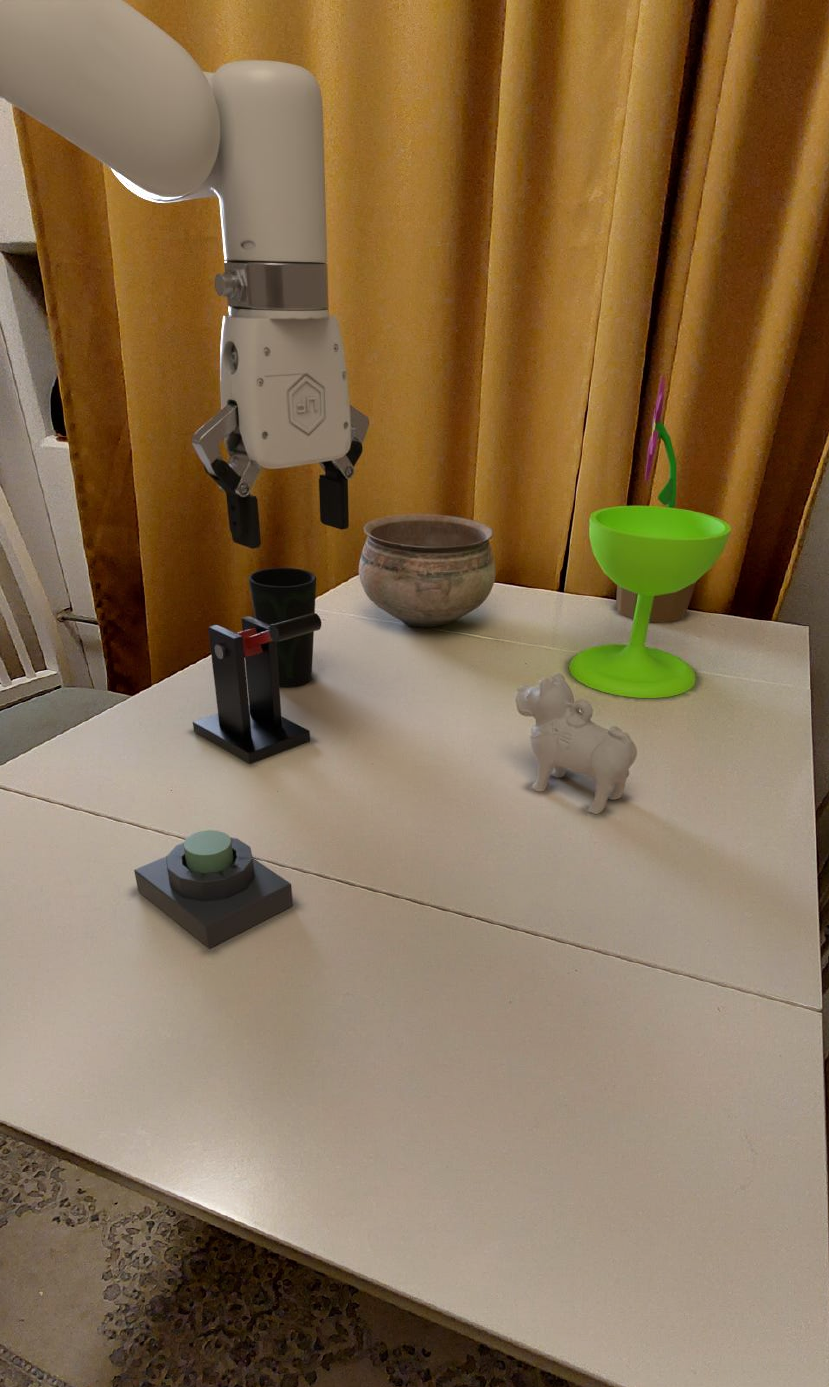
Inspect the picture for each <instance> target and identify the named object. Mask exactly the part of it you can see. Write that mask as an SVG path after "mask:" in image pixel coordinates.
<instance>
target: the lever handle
mask: <svg viewBox="0 0 829 1387" xmlns="http://www.w3.org/2000/svg"><path fill="white" fill-rule="evenodd" d="M320 629H322V619H321V617H320V616H319V614H318V613H316V612H315V613H312V614H309V615H305V616H301V617H298V618H294V619H290V620H287V621H283V622H279V623H276V624H272V625H270V627H269V630H268V631H265V632H262V633H259V634H257V632H256V629H255V628H253V629H249V630H246V631H239V632H235V633H236V634H238V635H240V636H242V637H243V647H244V658H245V657H249V656H252V655H255V654H258V653H262V652H263V650H262V647H261V645H262V644H265V643H268V642H271V641H274V642H279V641H282V640H286V639H289V638H293V637H296V636H300V635H303V634H307V633H310V632H313V631H314V632H317V631H319V630H320Z"/></svg>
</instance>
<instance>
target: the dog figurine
mask: <svg viewBox="0 0 829 1387" xmlns="http://www.w3.org/2000/svg"><path fill="white" fill-rule="evenodd" d="M550 677H551V680H550V678H548V677H542V678H540V680H538V685H535V686H529V685H526V684H525V685H520V686H518V688H517V689H516V694H515V705H516V710H517V712H518V713H519V715H521V716H523V717H530V718H531V717H532V718H534V719H535V723H534V724H535V725H533V726H532V727H531V731H530V735H529V737H530V745H531V749H532V751H533V754H534V756H535V758H536V761H537V776H536V780H535V782H534V783H533V784H532V785H531V789H532V790H533V791H535V792H544V791H545V790H546V789H547V787H548V785H550V784H549V779H550V777H551V776H553V777H555V778H557V779H559V778H563V777H564V776H565V775H566V770H567V769H568V770H571V771H574V772H576V773H580V774H583V775H586V776H588V777H590V778H591V779H593V780H595V793H594V798H593V802H592V803H591V805H590V806H589V808H588V812H589V813H591V814H595V815H599V814H601V813H602V812H603V811H604V809H605V808H606V805H607V802H608V800H613V801H614V800H619V799H621V798H622V796H623V792H624V789H625V785H626V781H627V779H628V778H629V776H630V768H631V767H632V765H633V764H634V763H635V761H636V759H637V755H638V749H637V746H636V744H635V743H634V741H633V740H632V737H631V736H630V734H628V733H627V732H624V731H623V730H622V729H621V728H620V727H618V726H616V725H613V726H611V727H610V728H606V727H602V726H601V725H599V724H597V723H596V722H593V721H592V720H591V719H592V718H593V712H594V709H593V706H592V704H591V703H590V702H589V701H588V700H585V699H577V700H575V697H574V693H573V690H572V689H571V686H570V685H569V684H568V683H567V681H566V679H565V676H564V675H563V674H562V673H560V672H556V673H553V674H551V676H550Z"/></svg>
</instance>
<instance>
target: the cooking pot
mask: <svg viewBox="0 0 829 1387" xmlns="http://www.w3.org/2000/svg"><path fill="white" fill-rule="evenodd" d="M363 530H364V533H365V534H366V535H367V537H366V540H365V542H364V544H363V548H362V551H361V554H360V560H359V565H358V578H359V582H360V584H361V586H362V589H363V591H364V593H365V595H366V596H367V598H368V599H369V600H370V601H371V602H372V603H373V604H374V605H375V606H376V607H377V608H379V609H381V610H382V611H384V612H385V613H387V614H389V615H390V616H392V617H394V618H396V619H397V620H399V621H401V622H402V623H403V624H405V625H407V626H409V627H413V628H418V629H438V628H442V627H445V626H447V625H448V624H449V623H452V622H454V621H456V620H458V619H460V618H462V617H464V616H466V615H468V614H469V613H471V612H473V611H475V610H476V609H477V608H478V607H480V606H481V605H482V604H483V603H484V602H485V601H486V600H487V598H488V597H489V595H490V594H491V591H492V589H493V587H494V584H495V581H496V575H497V574H496V573H497V571H496V570H497V569H496V564H495V563H496V562H495V557H494V553H493V550H492V546H491V544H490V543H491V542H490V540H491V539H492V538H493V536H494V530H493V529H492V528H491V526H489V525H487V524H485V523H483V522H481V521H478V520H475V519H470V518H466V517H461V516H454V515H447V514H435V513H433V514H432V513H408V514H405V513H404V514H396V515H389V516H382V517H379V518H376V519H375V518H374V519H372V520H371V521H368V522H367V523H366V524H365V525H364V526H363Z"/></svg>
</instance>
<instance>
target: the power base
mask: <svg viewBox="0 0 829 1387" xmlns="http://www.w3.org/2000/svg"><path fill="white" fill-rule="evenodd" d="M229 837H230V838H231V842H232V851H233V863H232V865H231V866H230V867H228V868H226V869H224V870H221V871H218V872H210V873H200V872H194V871H192V870H190V869H189V868H188V867H187V864H186V858H185V851H184V842H181V843H179V844H176V845H175V846H174V847H173V849H172V850H171V851H170V852H169V853H168V854H167V855H166V856H163V857H161V858H158V859H157V860H154V861H152V862H150V863H146V864H145V865H142V866H140V867H138V868H135V869H134V871H133V872H134V877H135V882H136V886H137V892H138V893H139V894H141V896H143V897H144V898H145V899H146V900H148V901H149V902H150V903H151V904H153V905H154V906H155V907H157V908H158V909H159V910H160V911H162V912H163V913H164V914H165V915H167V916H168V917H169V918H170V919H171V920H173V921H174V922H175V923H176V924H178V925H179V926H180V927H182V928H183V929H184V930H185V931H187V932H188V933H189V934H190V935H192V936H193V937H194V938H195V939H196V940H198V941H199V942H201V944H203V945H204V946H205V947H207V949H212V948H214V947H215V946H217V945H219V944H221V943H223V942H225V941H227V940H229V939H231V938H233V937H235V936H237V935H239V934H241V933H243V932H245V931H247V930H249V929H251V928H252V927H255V926H256V925H259V924H261V923H262V922H264V921H266V920H268V919H271V918H272V917H274V916H275V915H277V914H280V913H282V912H284V911H285V910H287V909H289V908H291V907H293V906H294V904H293V902H294V901H293V890H292V888H293V886H292V883H291V882H289V881H288V880H286V879H285V878H284V877H282V876H280V875H279V874H277V873H276V872H275V871H273V870H271V869H270V868H269V867H267V866H266V865H265V864H263V863H261V862H259V861H258V860H257V859H255V858H254V856H253V852H252V849H251V846H250V845H248V844H246V843H245V842H243V841H242V840H241V839H240V838H237V837H231V836H229Z"/></svg>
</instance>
